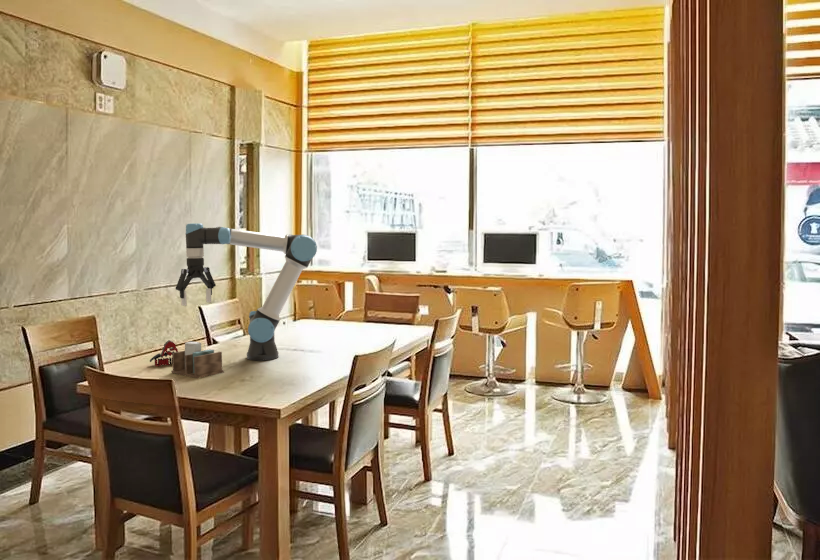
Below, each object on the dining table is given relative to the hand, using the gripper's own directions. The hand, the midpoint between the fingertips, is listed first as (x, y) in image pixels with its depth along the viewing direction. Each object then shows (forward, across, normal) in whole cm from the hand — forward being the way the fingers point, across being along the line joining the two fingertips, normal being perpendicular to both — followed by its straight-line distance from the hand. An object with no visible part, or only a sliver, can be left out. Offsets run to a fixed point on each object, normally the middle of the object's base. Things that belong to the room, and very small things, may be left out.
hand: (196, 304), depth 324 cm
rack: (+29, +9, +11) cm, 32 cm away
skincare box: (+28, +9, +8) cm, 30 cm away
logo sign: (+29, +5, -14) cm, 33 cm away
